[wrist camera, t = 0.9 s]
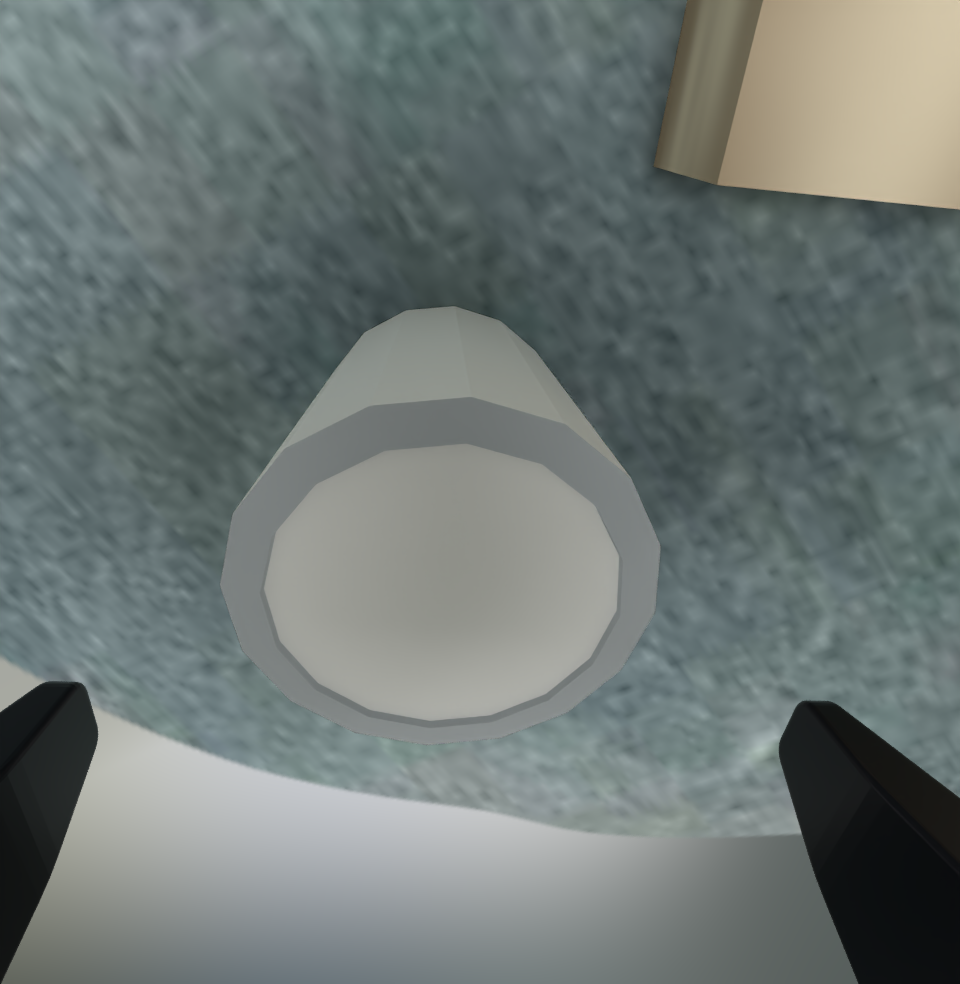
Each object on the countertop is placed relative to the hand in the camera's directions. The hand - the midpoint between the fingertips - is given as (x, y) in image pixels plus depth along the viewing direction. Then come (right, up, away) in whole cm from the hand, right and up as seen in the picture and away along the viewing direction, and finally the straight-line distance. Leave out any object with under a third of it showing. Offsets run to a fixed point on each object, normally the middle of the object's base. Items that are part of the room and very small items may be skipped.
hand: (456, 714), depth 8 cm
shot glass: (-1, +5, +8) cm, 9 cm away
